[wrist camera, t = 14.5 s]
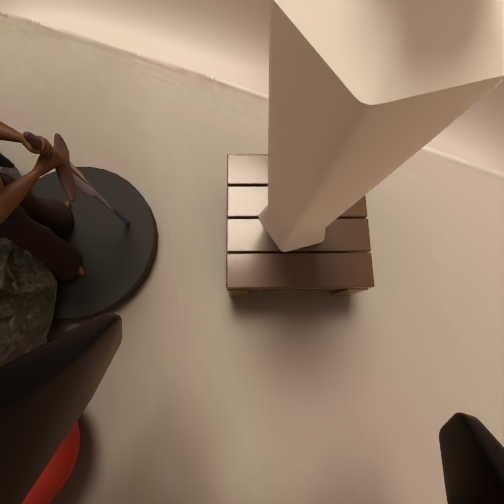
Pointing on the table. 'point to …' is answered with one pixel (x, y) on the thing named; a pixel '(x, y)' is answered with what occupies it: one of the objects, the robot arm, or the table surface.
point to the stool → (295, 261)
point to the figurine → (78, 226)
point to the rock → (23, 297)
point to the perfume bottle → (365, 97)
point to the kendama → (56, 470)
